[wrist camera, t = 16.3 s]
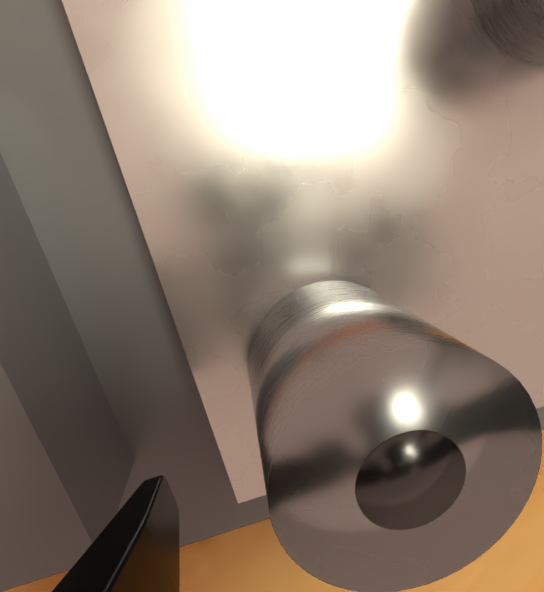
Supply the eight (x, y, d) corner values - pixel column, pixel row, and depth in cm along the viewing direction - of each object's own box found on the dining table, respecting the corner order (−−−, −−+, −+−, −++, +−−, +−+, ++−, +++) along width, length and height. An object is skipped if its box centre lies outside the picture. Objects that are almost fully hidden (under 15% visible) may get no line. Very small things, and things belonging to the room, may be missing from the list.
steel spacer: (392, 260, 11) (537, 308, 6) (417, 405, 12) (550, 543, 7) (226, 308, 10) (230, 402, 5) (271, 451, 12) (306, 630, 7)
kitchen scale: (643, -214, 11) (1029, -596, 6) (630, 363, 16) (821, 438, 11) (-187, -44, 10) (-692, -349, 4) (99, 530, 15) (32, 709, 10)
